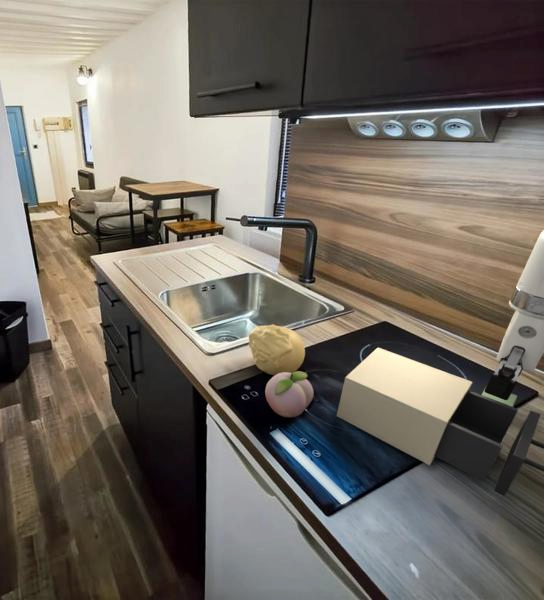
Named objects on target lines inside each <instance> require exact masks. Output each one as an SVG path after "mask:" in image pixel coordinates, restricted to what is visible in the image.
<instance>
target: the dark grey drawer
mask: <svg viewBox="0 0 544 600" xmlns="http://www.w3.org/2000/svg"><path fill="white" fill-rule="evenodd" d="M518 412H519V408H516V407H514V406H513V407H511V406H509V405H506V404H503V403H501V402H498V401H496V400H493V399H490V398H488V397H485V396H482V394H479V393H477V392H474V391H473V390H472V391H471V390H468V392H467V393H466V395H465V396H464V398H463V400H462V401H461V403H460V404H459V406H458V408H457V409H456V411H455V412H454V414H453V416H452V417H451V419H450V421H449V422H448V424H447V426H446V429H445V431H444V433H443V436H442V438H441V441H440V443H439V446H438V448H437V450H436V453H435V455H434V456H435V458H437V459H440V460H442V461H443V462H446V463H447V464H449V465H452V466H453V467H455V468H457V469H459V470H461V471H462V472H465V473H467V474H469V475H471V476H473V477H474V478H477V479H479V480H481V481H483V482H486V479H487V478H488V475H489V474H490V472H491V470H492V468H493V466H494V464H495V462H496V460H497V458H498V456H499V454H500V452H501V450H502V449H503V447H504V445H503V444H502V442H503V440H504V438H505V436H506V434H507V432H508V430H509V429H510V427H511V425H512V423H513V420H514V419H515V417H516V415H517V413H518ZM540 418H541V413H539V412H537V411H534V410H530V411H529V413H528V414H527V416H526V418H525V420H524V422H523V424H522V425H521V427H520V429H519V431H518V433H517V434H516V437H515V438H514V440H513V442H512V444H511V447H510V449H509V452H508V454H507V456H506V459H505V462H504V464H503V467H502V469H501V472H500V474H499V476H498V479H497V481H496V484H495V486H494V489H493V492H495V493H496V494H498V495H500V496H502V497H505V496H506V494H507V492H508V491H509V489H510V487H511V485H512V483H514V480H515V478H516V476H517V475H518V473H519V471H520V470H521V467H522V466H523V464H525V465H527V466H530V467H532V468H534V469H536V470H538V471H541V472H542V473H544V465H542V464H540V463H538V462H535V461H533V460H531V459H529V458H527V455H528V452H529V449H530V446H531V445H533V446H536V447H537V448H540V449H543V450H544V442H541V441H538V440H536V439H534V435H535V432H536V430H537V426H538V423H539V420H540Z"/></svg>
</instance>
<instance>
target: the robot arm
mask: <svg viewBox="0 0 544 600" xmlns="http://www.w3.org/2000/svg"><path fill="white" fill-rule="evenodd" d="M508 306H509V307H510V308H512V309H513V310H515V311H514V313H513V315H512V317H511V320H510V321H509V324H508V327H507V328H506V331H505V333H504V336H503V339H502V341H501V344H500V347H499V349H498V352H497V355H496V361H497V363H498V365H497V368H496V370H495V372H492V374H491V376H490V378H489V380H488V381H487V384H486V386H485V388H484V390H485V392H486V393H488V394H490V395H493V396H495V397H498V398H501V399H503V400H508V399H509V397H510V395H511V394H513V391H514V389H515V388H516V385H517V384H518V381H517V379H518V378H519V377H520V375H521V373H522V372H523V371H525V372H527V373H533V372H535V370H536V369H537V366H538V364H539V363H540V360H541V358H542V357H543V355H544V230H542V231H541V232H540V234H539V236H538V237H537V239H536V242H535V244H534V247H533V249H532V251H531V253H530V255H529V258H528V260H527V261H526V264H525V266H524V268H523V271H522V273H521V275H520V277H519V279H518V281H517V283H516V286H515V288H514V290H513V292H512V295H511V297H510V299H509V302H508Z"/></svg>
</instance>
